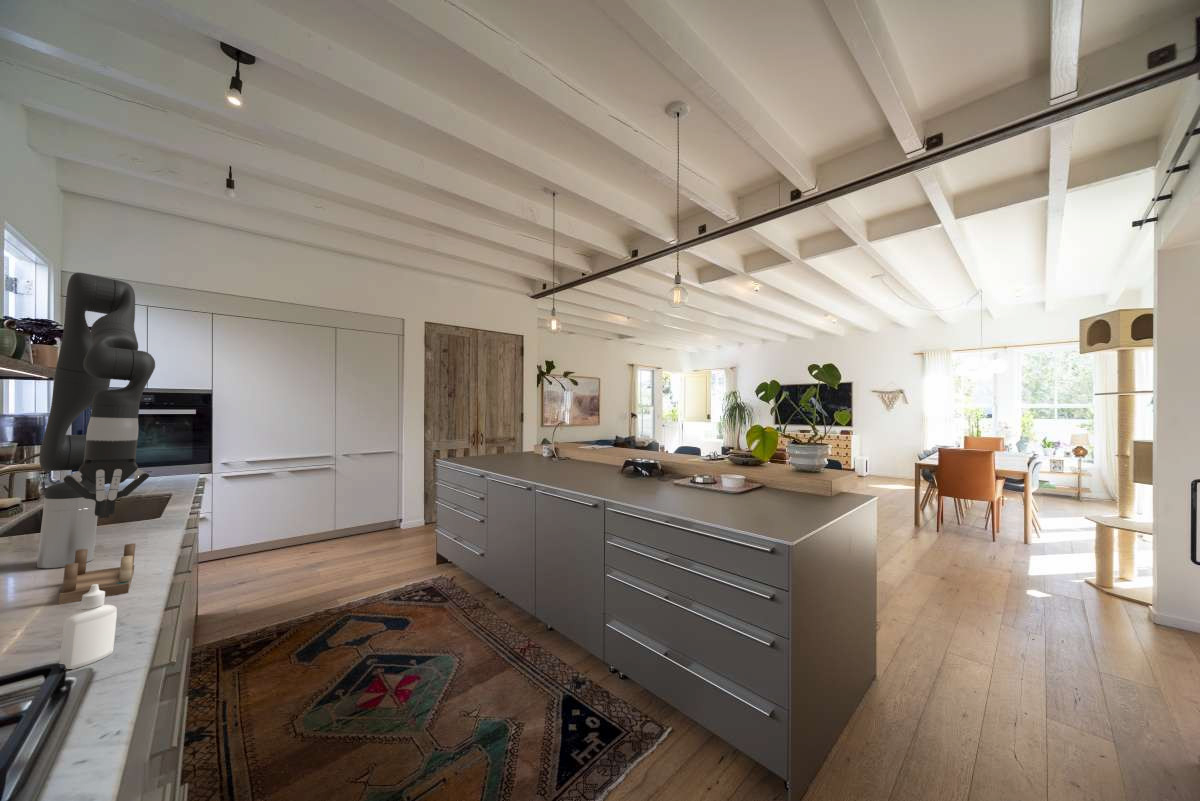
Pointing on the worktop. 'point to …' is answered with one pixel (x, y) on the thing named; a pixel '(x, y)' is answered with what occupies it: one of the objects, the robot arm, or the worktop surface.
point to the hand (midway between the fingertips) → (104, 517)
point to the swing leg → (126, 568)
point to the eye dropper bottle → (89, 631)
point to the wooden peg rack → (92, 578)
